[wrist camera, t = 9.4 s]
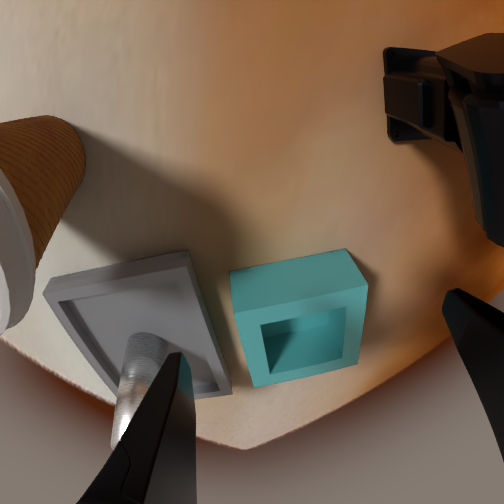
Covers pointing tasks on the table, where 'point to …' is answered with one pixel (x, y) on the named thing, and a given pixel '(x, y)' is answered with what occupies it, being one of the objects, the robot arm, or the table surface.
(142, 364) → the steel pin
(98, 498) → the robot arm
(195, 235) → the table surface
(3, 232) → the disposable coffee cup
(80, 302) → the charcoal tray
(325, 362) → the teal square open box
